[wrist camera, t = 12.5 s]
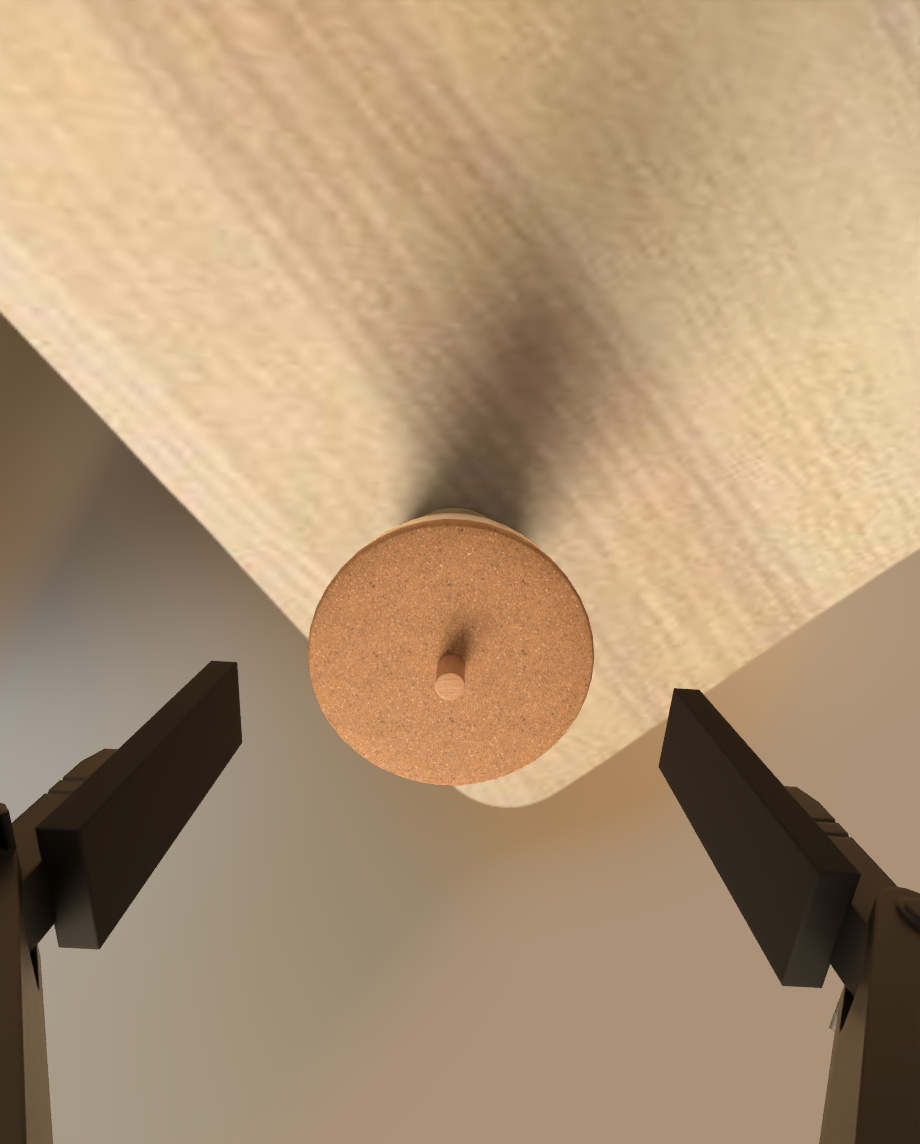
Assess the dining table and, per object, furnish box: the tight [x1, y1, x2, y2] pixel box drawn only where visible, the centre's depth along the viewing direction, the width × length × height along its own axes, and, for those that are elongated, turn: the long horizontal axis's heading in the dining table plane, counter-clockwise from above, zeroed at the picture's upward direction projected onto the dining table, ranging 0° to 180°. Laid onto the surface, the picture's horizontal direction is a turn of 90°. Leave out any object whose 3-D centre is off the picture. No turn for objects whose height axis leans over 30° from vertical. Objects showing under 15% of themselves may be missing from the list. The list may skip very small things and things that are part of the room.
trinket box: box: [308, 513, 594, 785], centre depth 22 cm, size 11×11×9 cm
